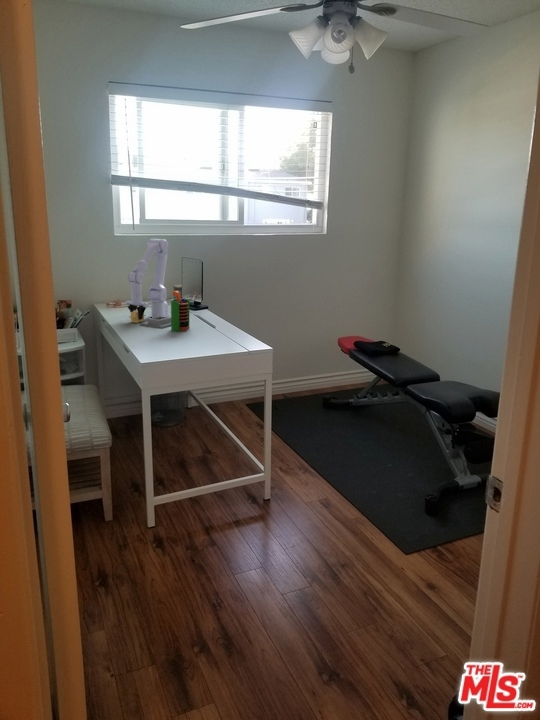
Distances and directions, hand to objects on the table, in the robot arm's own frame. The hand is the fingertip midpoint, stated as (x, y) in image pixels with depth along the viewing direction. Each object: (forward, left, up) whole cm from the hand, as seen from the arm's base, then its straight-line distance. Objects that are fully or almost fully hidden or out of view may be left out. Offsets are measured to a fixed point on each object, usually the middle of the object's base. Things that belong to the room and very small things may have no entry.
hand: (137, 318), depth 298 cm
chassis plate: (-2, +14, -2) cm, 14 cm away
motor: (+2, +31, -2) cm, 31 cm away
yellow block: (0, 0, -1) cm, 1 cm away
